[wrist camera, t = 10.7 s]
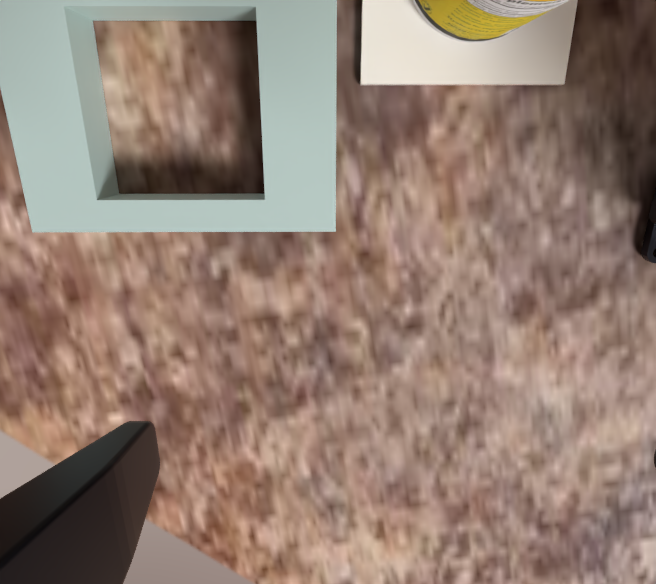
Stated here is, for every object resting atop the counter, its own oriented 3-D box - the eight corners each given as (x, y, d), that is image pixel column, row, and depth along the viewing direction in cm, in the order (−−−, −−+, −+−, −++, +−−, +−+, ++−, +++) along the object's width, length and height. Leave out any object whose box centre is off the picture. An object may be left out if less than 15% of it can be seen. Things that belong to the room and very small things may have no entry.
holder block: (335, -18, 17) (337, -37, 15) (334, 222, 20) (335, 231, 18) (12, -19, 17) (-28, -38, 15) (60, 222, 20) (32, 232, 18)
